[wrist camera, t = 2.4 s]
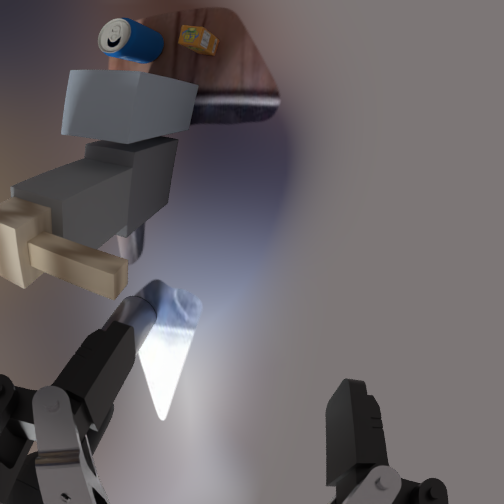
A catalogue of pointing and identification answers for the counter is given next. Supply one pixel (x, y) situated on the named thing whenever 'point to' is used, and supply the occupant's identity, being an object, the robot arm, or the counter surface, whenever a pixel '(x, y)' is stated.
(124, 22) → the beverage can
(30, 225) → the mallet
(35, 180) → the tall tower
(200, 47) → the supplement box
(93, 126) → the grey tall block
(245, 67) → the counter surface
